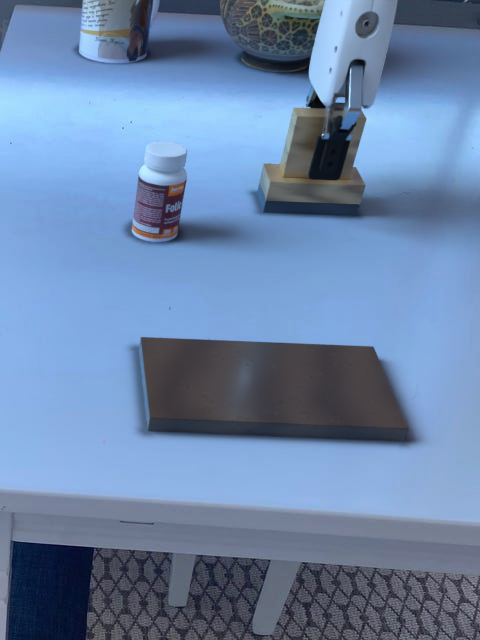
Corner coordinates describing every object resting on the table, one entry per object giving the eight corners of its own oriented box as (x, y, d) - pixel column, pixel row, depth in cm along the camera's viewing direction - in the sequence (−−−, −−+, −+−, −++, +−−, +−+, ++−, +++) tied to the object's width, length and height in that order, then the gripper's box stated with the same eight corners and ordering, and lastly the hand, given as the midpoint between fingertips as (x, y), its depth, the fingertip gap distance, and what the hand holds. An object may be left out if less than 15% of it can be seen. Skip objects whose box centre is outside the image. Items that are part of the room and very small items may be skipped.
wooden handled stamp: (346, 199, 104) (373, 106, 97) (355, 218, 101) (384, 123, 94) (256, 196, 104) (276, 102, 97) (262, 215, 101) (284, 119, 94)
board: (368, 361, 82) (373, 345, 80) (402, 444, 74) (409, 428, 72) (138, 352, 82) (140, 336, 81) (147, 434, 74) (149, 417, 73)
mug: (73, 42, 139) (79, -49, 131) (152, 41, 140) (163, -49, 132) (84, 65, 132) (92, -29, 124) (168, 64, 133) (181, -29, 125)
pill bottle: (168, 248, 95) (181, 161, 89) (124, 238, 96) (134, 151, 90) (183, 230, 98) (198, 145, 92) (141, 220, 99) (152, 135, 93)
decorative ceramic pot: (213, 55, 145) (206, -61, 134) (333, 25, 141) (336, -96, 131) (236, 114, 128) (230, -12, 118) (372, 82, 125) (379, -51, 114)
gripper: (436, -13, 80) (370, 200, 93) (388, -62, 92) (335, 134, 105) (348, -16, 80) (294, 197, 93) (311, -65, 92) (268, 131, 105)
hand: (316, 162), depth 99 cm, fingers open, 6 cm apart
